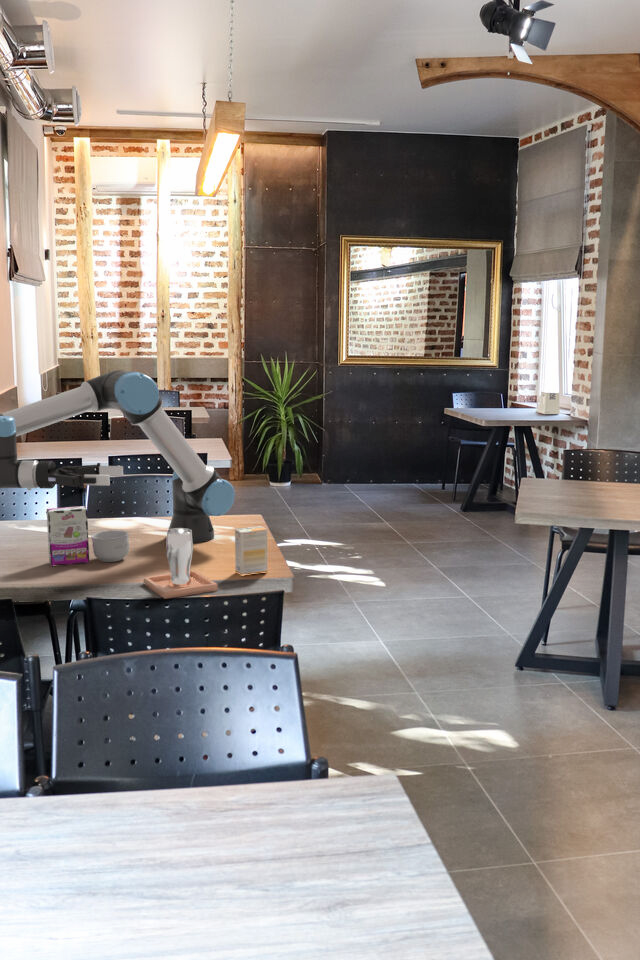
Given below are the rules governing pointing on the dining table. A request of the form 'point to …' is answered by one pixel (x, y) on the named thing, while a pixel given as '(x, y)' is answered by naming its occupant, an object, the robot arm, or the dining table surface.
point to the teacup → (110, 545)
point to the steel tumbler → (179, 556)
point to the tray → (164, 590)
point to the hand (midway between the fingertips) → (116, 475)
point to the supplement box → (251, 550)
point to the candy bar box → (68, 535)
